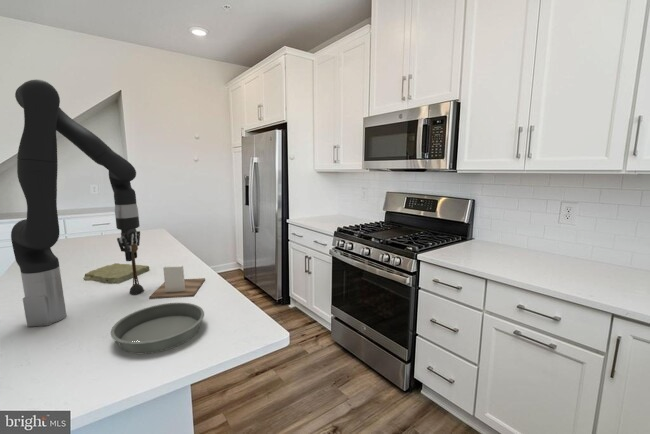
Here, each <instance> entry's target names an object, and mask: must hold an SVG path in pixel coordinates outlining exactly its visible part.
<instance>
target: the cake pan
mask: <svg viewBox="0 0 650 434" xmlns="http://www.w3.org/2000/svg"><path fill="white" fill-rule="evenodd" d="M204 317H205V311H204V309H203V308H202V307H201V306H199V305H197V304H194V303H190V302H168V303H167V302H166V303H161V304H157V305H156V304H155V305H151V306H148V307H144V308H142V309H139V310H136V311H133V312H131V313H130V314H128V315H125V316H124V317H122V318H120V319H119V320H118V321H117V322H116V323H114V325H113V326H111V327H112V328H111V330H110V336H111V338H112V339H113V340H114V341H115V342H117V343H118V345H119V347H120V348H121V349H122V351H125V352H127V353H130V352H132V353H131V354H138V353H143V354H152V352H154V353H159V352H163V351H167V350H170V349H172V348H175V347H177V346H180V345H182V344H184V343H186V342H187V341H189V340H191V339H192V338H194V337H195V335H197V334H198V332H199V330H200V327H201V326H200V325H201V322H202V321H203V319H204ZM137 340H138V341H140V342H138V341H137ZM132 341H133V342H132ZM134 341H135V342H134ZM136 341H137V342H136ZM158 351H159V352H158Z"/></svg>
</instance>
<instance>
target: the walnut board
mask: <svg viewBox="0 0 650 434" xmlns="http://www.w3.org/2000/svg"><path fill="white" fill-rule="evenodd" d="M205 280H206V278H205V277H204V278H203V277H201V278H200V277H199V278H184V282H185V291H176V292H166V291H165V281H164V282H163V283H162V284H161V285H160V286H159V287H157V288H156V290H154V292H153V293H152V294H150V295H149V297H148V298H149V300H150V299H151V300H152V299H154V300H155V299H169V298H170V299H171V298H186V297H187V298H188V297H195V295H196V294H197V292H198V291H199V289H200V288H201V287H202V285H203V283H204V282H205Z"/></svg>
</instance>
